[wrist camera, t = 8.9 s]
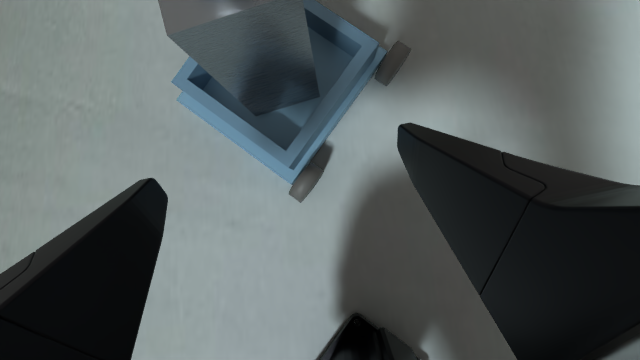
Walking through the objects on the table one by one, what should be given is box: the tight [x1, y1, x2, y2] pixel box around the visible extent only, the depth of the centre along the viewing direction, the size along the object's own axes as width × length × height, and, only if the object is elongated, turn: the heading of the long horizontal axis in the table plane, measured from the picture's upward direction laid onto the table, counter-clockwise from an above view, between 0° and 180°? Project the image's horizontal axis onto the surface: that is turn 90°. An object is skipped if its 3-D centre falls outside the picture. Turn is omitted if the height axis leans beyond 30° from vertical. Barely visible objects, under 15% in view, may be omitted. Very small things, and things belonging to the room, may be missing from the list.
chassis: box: [171, 0, 411, 203], centre depth 19 cm, size 13×12×3 cm
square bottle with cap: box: [158, 0, 320, 116], centre depth 13 cm, size 5×5×13 cm
